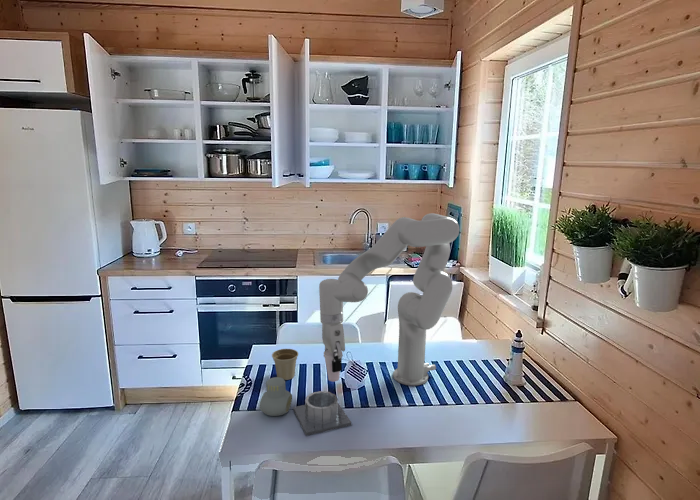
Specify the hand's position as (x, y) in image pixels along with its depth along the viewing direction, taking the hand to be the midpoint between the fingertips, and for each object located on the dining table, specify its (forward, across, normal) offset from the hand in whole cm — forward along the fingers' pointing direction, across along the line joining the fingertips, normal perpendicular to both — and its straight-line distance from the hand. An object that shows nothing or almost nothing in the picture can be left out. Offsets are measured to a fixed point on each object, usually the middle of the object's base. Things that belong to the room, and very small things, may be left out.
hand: (333, 366), depth 147 cm
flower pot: (+8, +15, +13) cm, 22 cm away
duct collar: (+8, -14, +9) cm, 19 cm away
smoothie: (+5, 0, 0) cm, 5 cm away
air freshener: (+8, -5, +21) cm, 23 cm away
